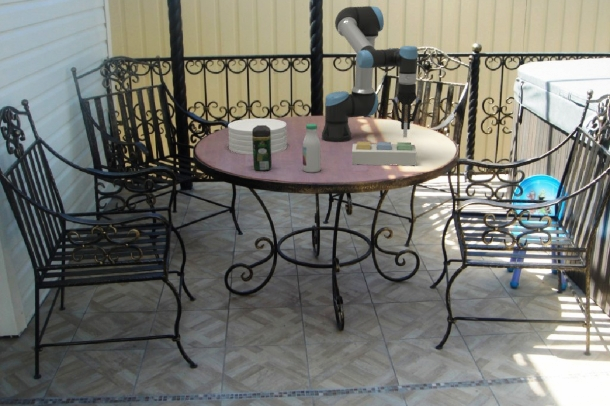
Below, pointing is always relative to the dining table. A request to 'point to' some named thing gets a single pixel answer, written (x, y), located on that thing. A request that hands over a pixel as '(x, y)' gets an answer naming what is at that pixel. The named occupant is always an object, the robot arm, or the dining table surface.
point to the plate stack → (243, 135)
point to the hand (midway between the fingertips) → (405, 136)
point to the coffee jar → (261, 148)
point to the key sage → (404, 146)
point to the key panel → (384, 156)
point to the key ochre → (364, 145)
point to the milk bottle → (311, 150)
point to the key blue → (383, 145)
